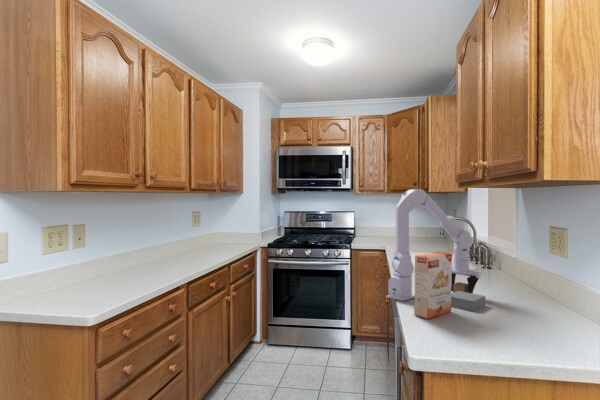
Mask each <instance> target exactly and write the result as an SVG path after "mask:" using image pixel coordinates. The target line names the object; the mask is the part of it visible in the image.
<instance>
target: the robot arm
mask: <svg viewBox="0 0 600 400" xmlns="http://www.w3.org/2000/svg"><path fill="white" fill-rule="evenodd" d="M417 207H423V208H426V209H427V210H428V211H429V212H430V213H431V214H432V215H433V216H434V217H435V218H437V220H438V221H439V225H440V226H441V228H442V229H443V230H444V231H445V232H446V233H447V234H448V235H449V236H450V238H451V241H453V267H452V283H451V292H453V284H455V283H456V278H457V277H456V276H457V275H461V276H467V277H466V281H467V284H468V293H472V294H474V289H475V287H476V284H477V283H478V282H479V279H480V278H481V277H482V276H481V275H482V273H481V272H478V271H474V270H471V269H470V244H471V243H472V241H473V237H472V235H471V233H470V232H469V231H468V230H464V229H465V227H464V226H463V225H460V224H459V223H458V221H457V218H456V217H455V216H451V215H446V213H445V212H444V211H443V210H442V209H441V208H440V206H439V205H438V204H437V203H436V202H435V200H433V198H432V197H431V195H429V194H428V193H426V191H425V190H423V189H421V188H417V189H416V188H415V189H411V188H410V189H408V190H406V191H405V192H403V193H402V194H401V198H400V199H399V201H398V203H397V205H395V252H394V254H393V259H392V261H391V268H392V269H393V273H392V277H390V278H389V279H388V284H387V285H388V286H387V287H388V288H387V295H386V297H387V298H390V299H394V300H397V301H402V302H404V301H407V300H411V299H413V298H414V299H415V294H413V292H412V291H413V290H412V289H413V284H412V283H413V281H412V280H413V278H412V277H413V276H412V274H413V273H414V271H415V265H414V264H413V262H412V255H411V252H410V213H411V211H413V210H414V209H415V208H417Z"/></svg>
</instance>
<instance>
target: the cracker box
mask: <svg viewBox="0 0 600 400" xmlns="http://www.w3.org/2000/svg"><path fill="white" fill-rule="evenodd" d="M452 268H453V254H452V253H450V252H444V251H443V252H441V251H434V252H430V253H429V252H428V253H421V254H416V255H414V295H415V297H414V307H413V308H414V310H413V311H414V312H413V313H414V314H413V315H414V316H416V317H417V316H418V317H421V318H422V319H426V320H430V319H432V318H435V317H439V316H442V315H444V314H445V315H446V314H447V313H451V312H452V307H451V294H452V291H451V283H452Z"/></svg>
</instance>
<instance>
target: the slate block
mask: <svg viewBox="0 0 600 400" xmlns="http://www.w3.org/2000/svg"><path fill="white" fill-rule="evenodd" d="M484 307H486V295H482V294H476V293H473V294H472V293H467V292H462V291H457V292H454V293H453V292H451V308H455V309H456V308H457V309H460V310H465V311H469V312H476V311H478V310H481V309H482V308H484Z"/></svg>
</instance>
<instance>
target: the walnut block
mask: <svg viewBox="0 0 600 400" xmlns="http://www.w3.org/2000/svg"><path fill="white" fill-rule="evenodd" d="M457 291H462V292H467V293H468V283H464V282H459V281H458V282H455V284H453V291H452V293H454V292H457Z"/></svg>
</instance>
